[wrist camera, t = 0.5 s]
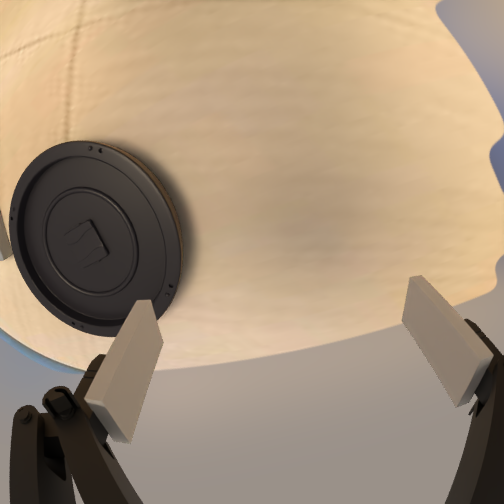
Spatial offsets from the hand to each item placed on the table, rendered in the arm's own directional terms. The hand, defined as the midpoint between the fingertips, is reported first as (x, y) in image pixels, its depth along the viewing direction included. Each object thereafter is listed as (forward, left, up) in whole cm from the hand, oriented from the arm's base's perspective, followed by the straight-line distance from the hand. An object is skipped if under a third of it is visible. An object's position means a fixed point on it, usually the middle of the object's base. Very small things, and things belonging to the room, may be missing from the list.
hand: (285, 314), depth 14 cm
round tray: (+2, -26, -28) cm, 38 cm away
